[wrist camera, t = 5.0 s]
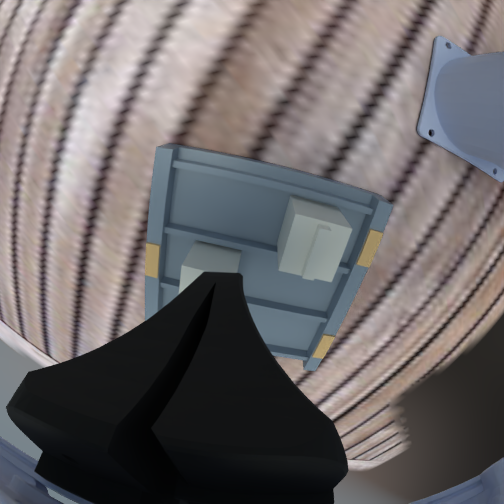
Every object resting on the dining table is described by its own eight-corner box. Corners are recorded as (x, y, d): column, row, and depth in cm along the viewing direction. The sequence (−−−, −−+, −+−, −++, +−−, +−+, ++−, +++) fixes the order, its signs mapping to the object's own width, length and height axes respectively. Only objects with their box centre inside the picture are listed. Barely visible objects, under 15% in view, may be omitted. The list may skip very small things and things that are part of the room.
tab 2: (337, 207, 17) (355, 233, 13) (321, 253, 18) (333, 288, 14) (290, 194, 17) (296, 217, 13) (277, 242, 18) (278, 276, 14)
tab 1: (242, 249, 18) (234, 284, 15) (232, 289, 20) (224, 328, 16) (196, 238, 18) (178, 270, 15) (190, 279, 20) (174, 316, 16)
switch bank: (380, 195, 17) (394, 206, 15) (312, 352, 24) (315, 372, 21) (169, 143, 16) (155, 147, 14) (154, 318, 23) (144, 337, 21)
